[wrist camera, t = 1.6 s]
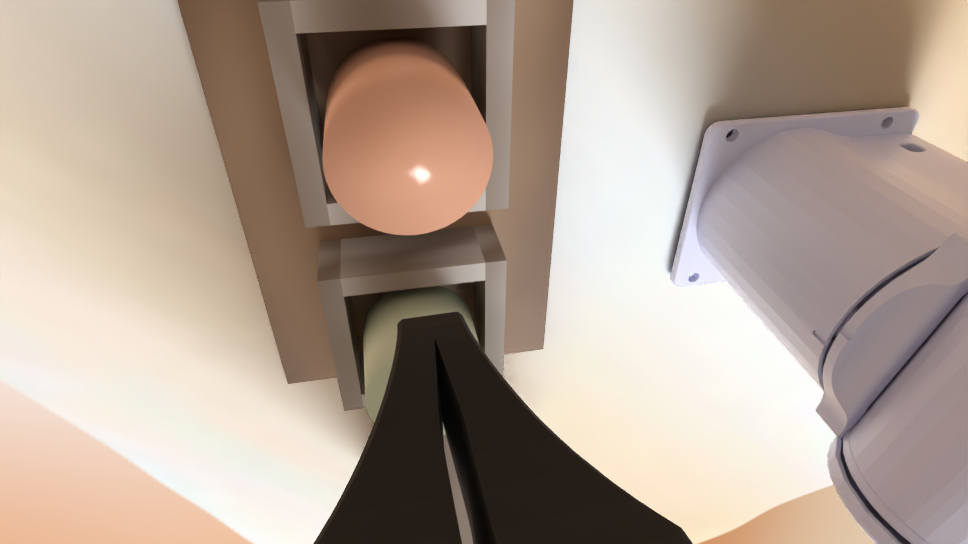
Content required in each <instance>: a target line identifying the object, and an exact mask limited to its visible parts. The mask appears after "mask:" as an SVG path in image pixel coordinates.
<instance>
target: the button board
mask: <svg viewBox="0 0 968 544" xmlns="http://www.w3.org/2000/svg"><path fill="white" fill-rule="evenodd" d="M178 4H179V7H180V11H181V14H182V18H183V21H184V25H185V28H186V31H187V35H188V38H189V42H190V45H191V49H192V52H193V56H194V59H195V63H196V66H197V70H198V73H199V77H200V80H201V83H202V87H203V90H204V94H205V97H206V101H207V104H208V108H209V111H210V115H211V118H212V122H213V125H214V129H215V132H216V136H217V139H218V142H219V146H220V149H221V153H222V156H223V160H224V163H225V167H226V170H227V174H228V177H229V181H230V184H231V188H232V191H233V195H234V198H235V201H236V205H237V208H238V212H239V215H240V219H241V222H242V226H243V229H244V233H245V236H246V240H247V243H248V247H249V250H250V253H251V257H252V260H253V264H254V267H255V271H256V274H257V278H258V281H259V285H260V288H261V292H262V295H263V299H264V302H265V306H266V309H267V312H268V316H269V319H270V323H271V326H272V330H273V333H274V337H275V340H276V344H277V347H278V351H279V354H280V358H281V361H282V365H283V368H284V371H285V375H286V378H287V382H288V384H291V383H298V382H305V381H313V380H320V379H327V378H335V377H337V378H338V383H339V387H340V392H341V397H342V402H343V406H344V411H346V410H353V409H360V408H366V404H365V378H364V351H363V322H364V319H365V316H366V314H367V312H368V310H369V309H370V307H371V306H372V305H373V304H374V303H375V302H376V301H377V300H378V299H379V298H380V297H382V296H383V295H385V294H386V293H388V292H390V291H397V290H406V289H415V288H423V287H432V286H442V287H445V288H448V289H450V290H452V291H453V292H455V293H457V294H458V295H459V296H460V297H461V298H462V299H463V300H464V301H465V302H466V304H467V305H468V307H469V309H470V312H471V316H472V320H473V323H474V327H475V331H476V334H477V338H478V342H479V345H480V346H481V348H482V349H483V351H484V352H485V354H486V355H487V357H488V358H489V359H490V361H491V362H492V363H493V365H494V366H495V367H496V369H497V370H498V371H499V373H500V374H501V375H502V377H503V366H504V354H510V353H518V352H525V351H532V350H540V349H543V345H544V333H545V322H546V310H547V299H548V287H549V275H550V264H551V252H552V241H553V229H554V218H555V206H556V195H557V183H558V172H559V160H560V149H561V137H562V125H563V114H564V102H565V91H566V79H567V68H568V56H569V45H570V33H571V22H572V10H573V0H178ZM388 37H405V38H412V39H416V40H419V41H422V42H424V43H427V44H429V45H431V46H433V47H434V48H436V49H438V50H439V51H440V52H442V53H443V54H444V55H445V56H447V57H448V59H449V60H450V61H451V62H452V63H453V64H454V65H455V67H456V68H457V70H458V71H459V73H460V75H461V77H462V79H463V80H464V82H465V84H466V86H467V88H468V90H469V92H470V94H471V96H472V98H473V100H474V102H475V104H476V106H477V108H478V110H479V112H480V114H481V116H482V117H483V119H484V121H485V123H486V125H487V127H488V130H489V133H490V136H491V141H492V146H493V166H492V171H491V175H490V178H489V181H488V184H487V186H486V188H485V190H484V192H483V194H482V195H481V197H480V198H479V200H478V201H477V203H476V204H475V205H474V206H473V207H472V208H471V209H470V210H469V211H468V212H467V213H466V214H465V215H464V216H462V217H461V218H460V219H458V220H457V221H455V222H454V223H452V224H450V225H448V226H446V227H444V228H441V229H439V230H436V231H433V232H429V233H425V234H419V235H394V234H389V233H384V232H381V231H377V230H375V229H372V228H370V227H368V226H365V225H364V224H362V223H360V222H359V221H357V220H356V219H354V218H353V217H352V216H350V215H349V214H348V213H347V212H346V211H345V210H344V209H343V208H342V207H341V206H340V205H339V203H338V202H337V201H336V199H335V198H334V196H333V195H332V193H331V191H330V189H329V187H328V184H327V182H326V179H325V175H324V171H323V162H322V155H323V140H324V126H325V113H326V100H327V93H328V88H329V85H330V82H331V79H332V77H333V75H334V73H335V71H336V69H337V68H338V67H339V65H340V64H341V62H342V61H343V60H344V59H345V58H346V57H347V56H348V55H349V54H351V53H352V52H353V51H354V50H356V49H357V48H359V47H361V46H362V45H364V44H366V43H369V42H371V41H374V40H377V39H381V38H388Z"/></svg>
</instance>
